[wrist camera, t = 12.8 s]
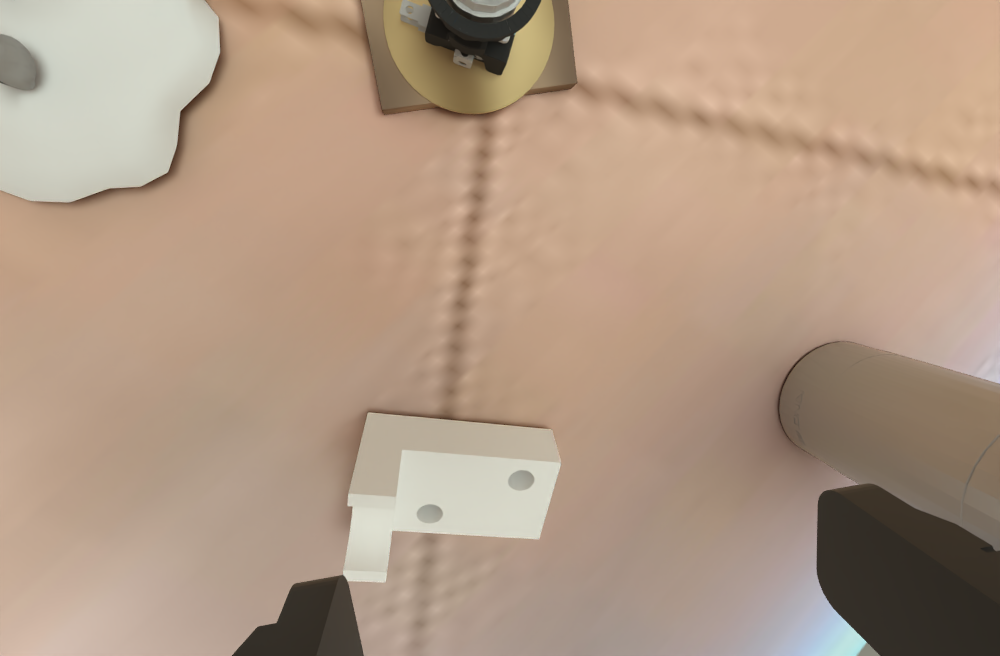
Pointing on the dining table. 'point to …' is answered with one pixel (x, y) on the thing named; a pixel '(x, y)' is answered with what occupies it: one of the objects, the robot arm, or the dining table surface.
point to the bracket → (445, 484)
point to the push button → (471, 27)
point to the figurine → (97, 91)
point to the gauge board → (441, 83)
